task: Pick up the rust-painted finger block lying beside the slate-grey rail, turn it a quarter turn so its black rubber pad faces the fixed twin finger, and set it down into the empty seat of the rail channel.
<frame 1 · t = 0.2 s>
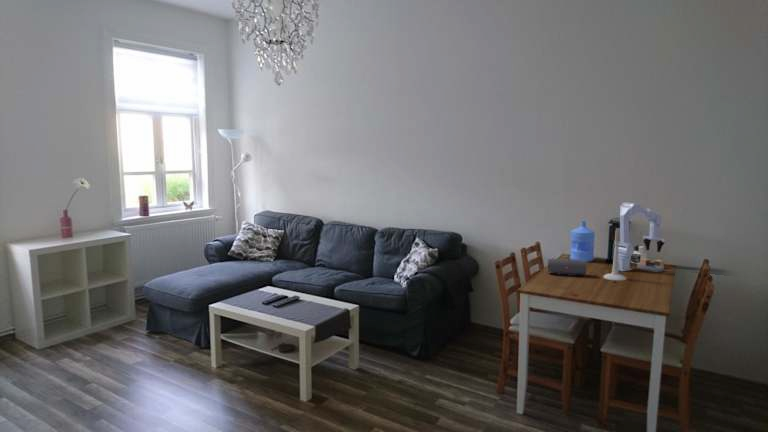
hand: (653, 251, 334), 10 cm above the table, tool pointing down, fingers open, 7 cm apart
rust finger: (658, 267, 329), on the table
medicine bottle: (638, 263, 343), on the table
water jug: (581, 260, 355), on the table
bluetooth speaker: (566, 274, 313), on the table
rail: (650, 269, 324), on the table
candlestick: (614, 278, 303), on the table
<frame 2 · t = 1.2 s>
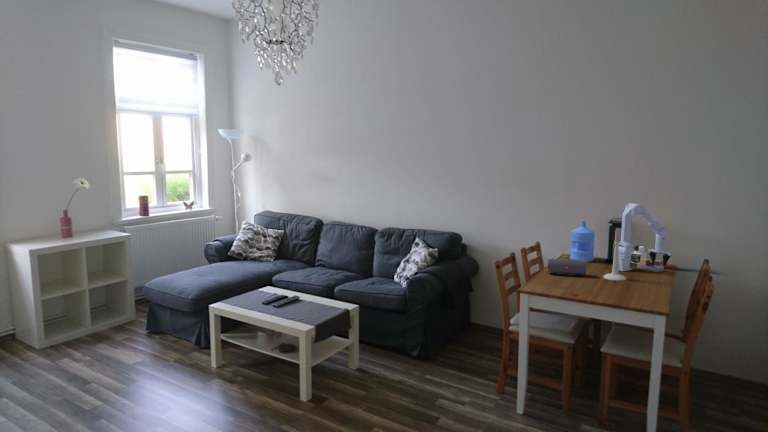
hand: (659, 264, 328), 2 cm above the table, tool pointing down, fingers open, 7 cm apart
nothing on the table moved.
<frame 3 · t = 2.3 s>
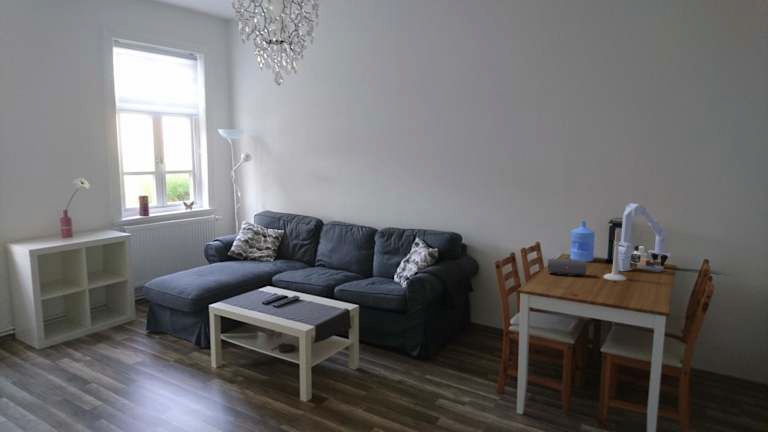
hand: (659, 265, 328), 1 cm above the table, tool pointing down, fingers closed on rust finger, 4 cm apart
rust finger: (658, 267, 329), on the table, touching gripper
everything else where it was.
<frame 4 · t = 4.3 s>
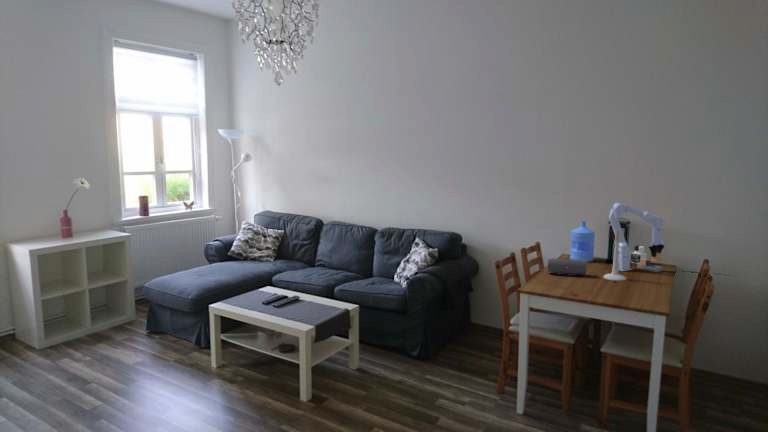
hand: (655, 256, 320), 9 cm above the table, tool pointing down, fingers closed on rust finger, 4 cm apart
rust finger: (655, 260, 320), point 6 cm above the table, touching gripper
everything else where it was.
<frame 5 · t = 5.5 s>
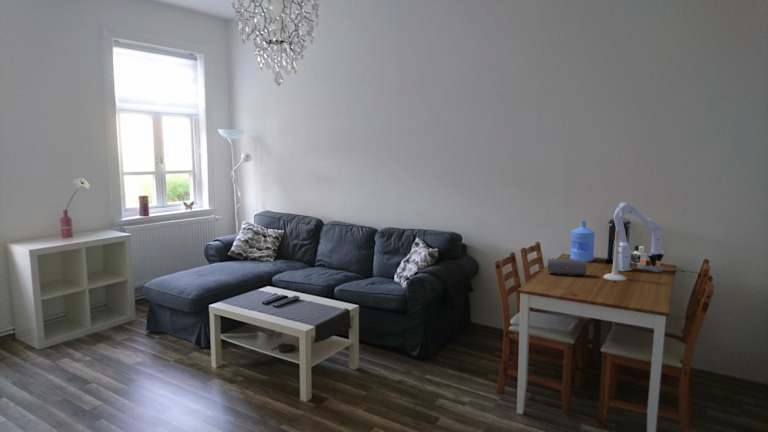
hand: (655, 265, 321), 3 cm above the table, tool pointing down, fingers closed on rust finger, 4 cm apart
rust finger: (655, 268, 321), point 1 cm above the table, touching gripper, rail
everything else where it was.
when the fingers open (3 cm above the table, at t = 6.2 s): rust finger stays where it is, resting on rail.
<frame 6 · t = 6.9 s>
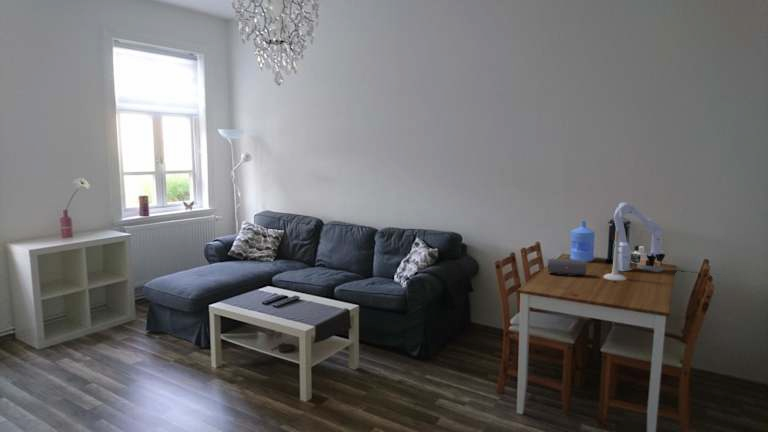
hand: (655, 265, 321), 3 cm above the table, tool pointing down, fingers open, 7 cm apart
rust finger: (655, 268, 321), point 1 cm above the table, touching rail
everything else where it was.
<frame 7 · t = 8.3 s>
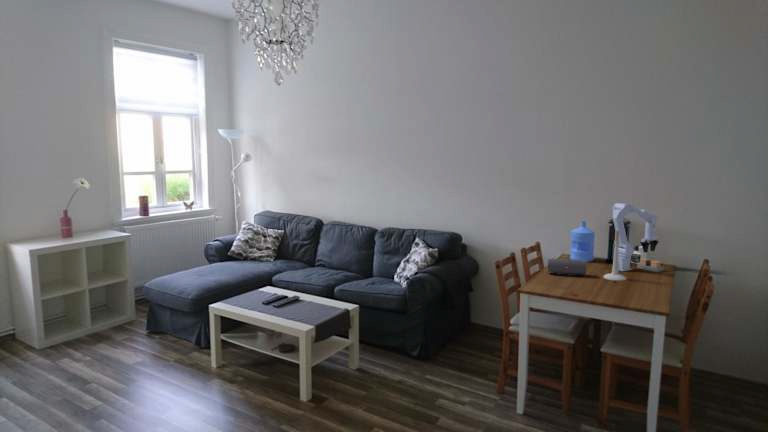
hand: (648, 251, 330), 10 cm above the table, tool pointing down, fingers open, 7 cm apart
nothing on the table moved.
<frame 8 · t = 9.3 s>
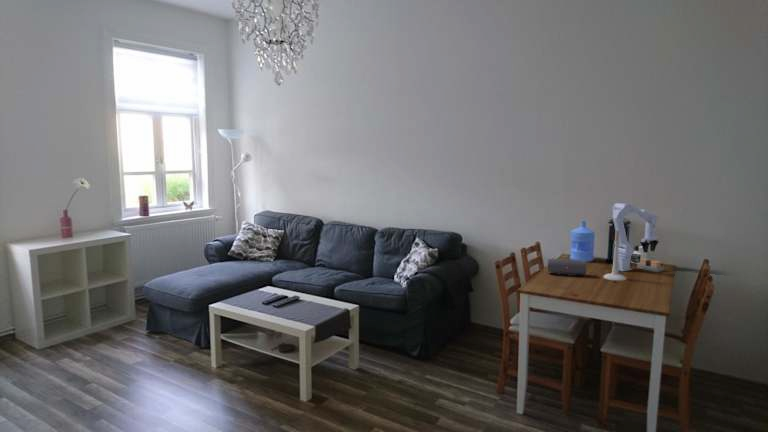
hand: (648, 251, 330), 10 cm above the table, tool pointing down, fingers open, 7 cm apart
nothing on the table moved.
at the end: rust finger 0.1 cm from the target spot on the rail, point 1.0 cm above the rail's base; rust finger tilted 0°; the gripper is holding nothing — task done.
